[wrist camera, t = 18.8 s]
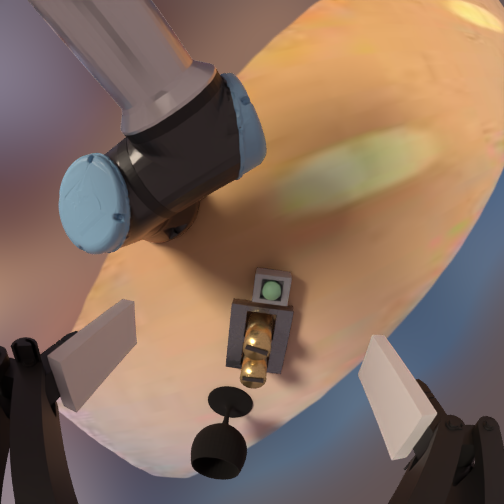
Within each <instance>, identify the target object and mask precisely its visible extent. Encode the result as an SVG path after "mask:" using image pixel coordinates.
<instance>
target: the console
mask: <svg viewBox="0 0 504 504" xmlns="http://www.w3.org/2000/svg"><path fill="white" fill-rule="evenodd" d="M268 280H276V281H277V282H278V283H279V284H280V287H281V294H280V296H279V297H278V298H277V299H276V300H268V299H266V298H265V297H264V296H263V293H262V291H263V285H264V283H265V282H266V281H268ZM291 281H292V277H291V272H288V271H280V270H273V269H265V268H258V267H257V270H256V274H255V282H254V290H253V297H252V302H258V303H266V304H273V305H281V306H287V304H288V298H289V292H290V286H291Z"/></svg>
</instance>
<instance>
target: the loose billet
mask: <svg viewBox="0 0 504 504" xmlns="http://www.w3.org/2000/svg"><path fill="white" fill-rule="evenodd" d="M266 371H267V358H265V359H263V360H252V359H250V358H248V357H247V356H246V355H245V354H244V358H243V364H242V369H241V375H240V381H241V383H242V384H243V385H244V386H246V387H248V388H259V387H261V386H263V385H264V384H265V382H266Z"/></svg>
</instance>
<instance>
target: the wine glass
mask: <svg viewBox="0 0 504 504" xmlns="http://www.w3.org/2000/svg"><path fill="white" fill-rule="evenodd" d="M208 403H209V405H210V407H211V408H212V409H213V410H214V411H215V412H216V413H218V414H220V415H222V416H225V417H224V420H223V423H218V424H212V425H209V426H207V427H205V428H204V429H202V430H201V431H200V432H199V433H198V434H197V436H196V437H195V439H194V441H193V444H192V448H191V464H192V467H193V468H194V470H195V471H197V472H198V473H200V474H202V475H204V476H206V477H209V478H214V479H232V478H234V477H236V476H238V474H239V473H240V471H241V469H242V467H243V465H244V462H245V460H246V455H247V446H246V442H245V440H244V438H243V436H242V434H241V433H240V432H239V431H238V430H237V429H235V428H234V427H232V426H230V425H228V422H229V417H231V418H236V417H242V416H244V415H246V414H247V413H249V412H250V410H251V409H252V400H251V398H250V396H249V395H248V394H247V393H246V392H244V391H243V390H241V389H238V388H235V387H229V386H225V387H219V388H216V389H214V390H213V391H212V392H211V393H210V394H209V397H208Z"/></svg>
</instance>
